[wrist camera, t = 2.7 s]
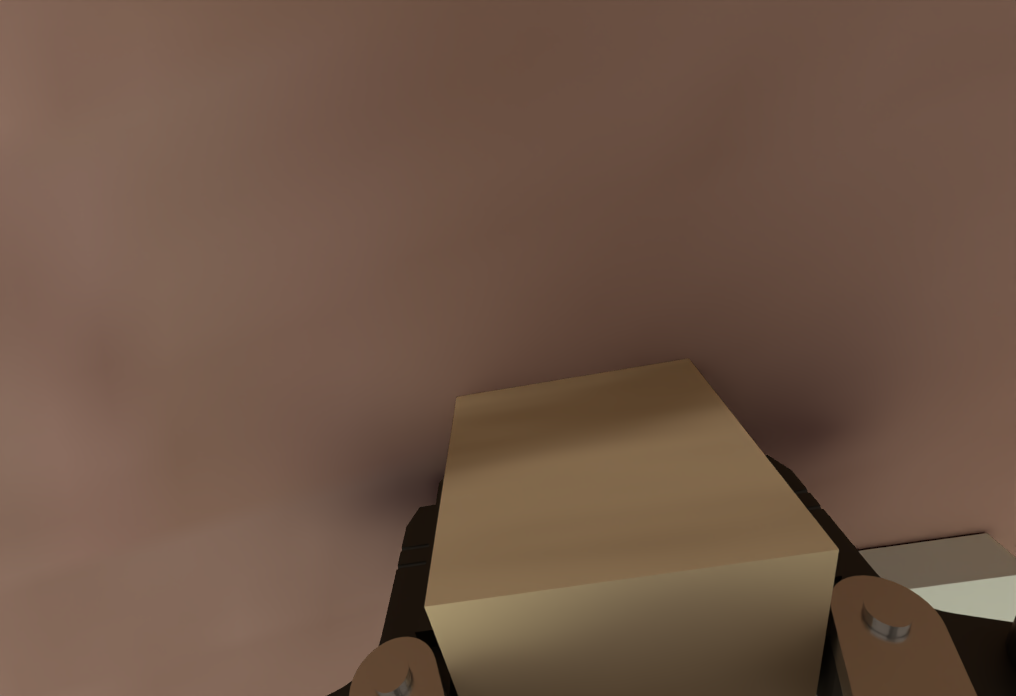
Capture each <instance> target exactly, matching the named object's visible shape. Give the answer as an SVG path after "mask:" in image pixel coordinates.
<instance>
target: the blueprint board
mask: <svg viewBox="0 0 1016 696" xmlns="http://www.w3.org/2000/svg"><path fill="white" fill-rule="evenodd" d="M859 553H860V554H861V555H862V556H863V557H864V559H865V560H866V561H867V562H868V563H869V565H870V566H871V567H872V568H873V570H874V571H875V572H876V573H877V574H878V575H879V576H880V577H881V578H884V579H887V580H890V581H893V582H895V583H898V584H900V585H902V586H904V587H906V588H908V589H910V590H911V591H913V592H915V593H916V594H918V595H919V596H920V597H922V598H923V599H924V600H925V601H927V602H928V603H929V604H930V605H931V606H932V607H933V608H934V609H938V610H941V611H945V612H950V613H955V614H962V615H969V616H975V617H982V618H989V619H995V620H1002V621H1009V622H1013V621H1014V619H1015V616H1016V557H1014V556H1013V555H1012V554H1011V553H1010V552H1009V551H1007V550H1006V549H1005V548H1004V547H1003V546H1001V545H1000V544H999V543H998V542H997V541H996V540H994V539H993V538H992V537H991V536H990V535H989V534H987V533H984V534H977V535H969V536H962V537H955V538H948V539H940V540H933V541H926V542H919V543H912V544H904V545H897V546H890V547H883V548H875V549H868V550H861V551H859Z"/></svg>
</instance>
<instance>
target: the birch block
mask: <svg viewBox="0 0 1016 696" xmlns="http://www.w3.org/2000/svg"><path fill="white" fill-rule="evenodd" d="M838 553H839V549H838V547H837V546H836V545H835V544H834V542H833V541H832V540H831V539H830V537H829V536H828V535H827V533H826V532H825V531H824V530H823V528H822V527H821V526H820V525H819V523H818V522H817V521H816V519H815V518H814V517H813V516H812V514H811V513H810V512H809V511H808V509H807V508H806V507H805V505H804V504H803V503H802V502H801V500H800V499H799V498H798V497H797V495H796V494H795V493H794V492H793V490H792V489H791V488H790V486H789V485H788V484H787V483H786V481H785V480H784V479H783V478H782V476H781V475H780V474H779V472H778V471H777V470H776V469H775V467H774V466H773V465H772V464H771V462H770V461H769V460H768V458H767V457H766V456H765V455H764V453H763V452H762V451H761V450H760V448H759V447H758V446H757V444H756V443H755V442H754V441H753V439H752V438H751V437H750V436H749V434H748V433H747V432H746V431H745V429H744V428H743V427H742V425H741V424H740V423H739V422H738V420H737V419H736V418H735V417H734V415H733V414H732V413H731V411H730V410H729V409H728V408H727V406H726V405H725V404H724V403H723V401H722V400H721V399H720V397H719V396H718V395H717V394H716V392H715V391H714V390H713V389H712V387H711V386H710V385H709V383H708V382H707V381H706V380H705V378H704V377H703V376H702V375H701V373H700V372H699V371H698V370H697V368H696V367H695V366H694V364H693V363H692V362H691V361H690V359H689V358H688V359H682V360H676V361H670V362H664V363H658V364H652V365H646V366H640V367H634V368H628V369H622V370H616V371H610V372H604V373H598V374H592V375H585V376H579V377H573V378H567V379H561V380H555V381H549V382H543V383H537V384H531V385H525V386H519V387H513V388H507V389H501V390H495V391H489V392H483V393H477V394H471V395H465V396H459V397H456V404H455V410H454V417H453V423H452V430H451V436H450V443H449V449H448V456H447V462H446V469H445V475H444V482H443V488H442V495H441V501H440V508H439V514H438V521H437V527H436V534H435V540H434V547H433V553H432V560H431V566H430V573H429V579H428V586H427V592H426V599H425V605H424V607H425V610H426V613H427V615H428V618H429V620H430V623H431V626H432V628H433V631H434V634H435V636H436V639H437V641H438V644H439V647H440V649H441V652H442V655H443V657H444V660H445V662H446V665H447V668H448V670H449V673H450V676H451V678H452V681H453V683H454V686H455V689H456V691H457V694H458V696H816V693H817V686H818V680H819V674H820V667H821V661H822V655H823V648H824V642H825V636H826V629H827V623H828V617H829V610H830V604H831V597H832V591H833V585H834V578H835V572H836V566H837V559H838Z"/></svg>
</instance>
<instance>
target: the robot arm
mask: <svg viewBox="0 0 1016 696" xmlns="http://www.w3.org/2000/svg"><path fill="white" fill-rule="evenodd" d="M765 456H766V457H767V458H768V460H769V461H770V462H771V464H772V465H773V466H774V467H775V469H776V470H777V471H778V472H779V474H780V475H781V476H782V478H783V479H784V480H785V481H786V483H787V484H788V485H789V486H790V488H791V489H792V490H793V492H794V493H795V494H796V495H797V497H798V498H799V499H800V500H801V502H802V503H803V504H804V505H805V507H806V508H807V509H808V511H809V512H810V513H811V514H812V516H813V517H814V518H815V519H816V521H817V522H818V523H819V525H820V526H821V527H822V528H823V530H824V531H825V532H826V533H827V535H828V536H829V537H830V539H831V540H832V541H833V542H834V544H835V545H836V546H837V547H838V549H839V553H838V559H837V566H836V572H835V578H834V585H833V591H832V597H831V604H830V610H829V617H828V623H827V629H826V636H825V642H824V648H823V655H822V661H821V667H820V674H819V680H818V686H817V693H816V696H1016V616H1015V619H1014V621H1013V622H1009V621H1002V620H995V619H989V618H982V617H975V616H969V615H962V614H955V613H950V612H945V611H941V610H938V609H934V608H933V607H932V606H931V605H930V604H929V603H928V602H927V601H925V600H924V599H923V598H922V597H920V596H919V595H918V594H916V593H915V592H913V591H911V590H910V589H908V588H906V587H904V586H902V585H900V584H898V583H895V582H893V581H890V580H887V579H884V578H881V577H880V576H879V575H878V574H877V573H876V572H875V571H874V570H873V568H872V567H871V566H870V565H869V563H868V562H867V561H866V560H865V559H864V557H863V556H862V555H861V554H860V553H859V551H858V550H857V549H856V548H855V547H854V545H853V544H852V543H851V542H850V541H849V539H848V538H847V537H846V536H845V534H844V533H843V532H842V531H841V530H840V528H839V527H838V526H837V525H836V524H835V522H834V521H833V520H832V519H831V518H830V516H829V515H828V514H827V513H826V512H825V510H824V509H821V507H820V504H819V503H818V502H817V501H816V499H815V498H814V497H813V496H812V495H811V493H808V492H807V489H806V487H805V486H804V485H803V484H802V483H801V481H800V480H799V479H798V478H797V477H796V475H795V474H794V473H793V472H792V471H791V470H790V469H789V468H787V467H786V466H784V465H782V464H781V463H779V462H778V461H776V460H774V459H773V458H771V457H770V456H768V455H765ZM443 482H444V480H441V481H440V483H439V488H438V494H437V500H436V505H431V506H425V507H420V508H419V509H418V511H417V512H416V514H415V515H414V516H413V518H412V519H411V521H410V522H409V524H408V525H407V527H406V531H405V536H404V540H403V544H402V552H401V553H400V558H399V562H398V570H397V571H396V575H395V580H394V584H393V588H392V593H391V597H390V602H389V606H388V610H387V615H386V619H385V624H384V628H383V632H382V637H381V640H380V644H379V646H378V647H377V648H376V649H374V650H373V651H372V652H371V653H370V654H369V655H368V656H367V657H366V658H365V659H364V661H363V662H362V663H361V665H360V666H359V668H358V669H357V671H356V673H355V675H354V677H353V680H352V681H351V682H350V683H348V684H347V685H346V686H344V687H343V688H341V689H339V690H337V691H335V692H333V693H331V694H329V695H327V696H458V694H457V691H456V689H455V686H454V683H453V681H452V678H451V676H450V673H449V670H448V668H447V665H446V662H445V660H444V657H443V655H442V652H441V649H440V647H439V644H438V641H437V639H436V636H435V634H434V631H433V628H432V626H431V623H430V620H429V618H428V615H427V613H426V610H425V607H424V605H425V599H426V592H427V586H428V579H429V573H430V566H431V560H432V553H433V547H434V540H435V534H436V527H437V521H438V514H439V508H440V501H441V495H442V488H443Z"/></svg>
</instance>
